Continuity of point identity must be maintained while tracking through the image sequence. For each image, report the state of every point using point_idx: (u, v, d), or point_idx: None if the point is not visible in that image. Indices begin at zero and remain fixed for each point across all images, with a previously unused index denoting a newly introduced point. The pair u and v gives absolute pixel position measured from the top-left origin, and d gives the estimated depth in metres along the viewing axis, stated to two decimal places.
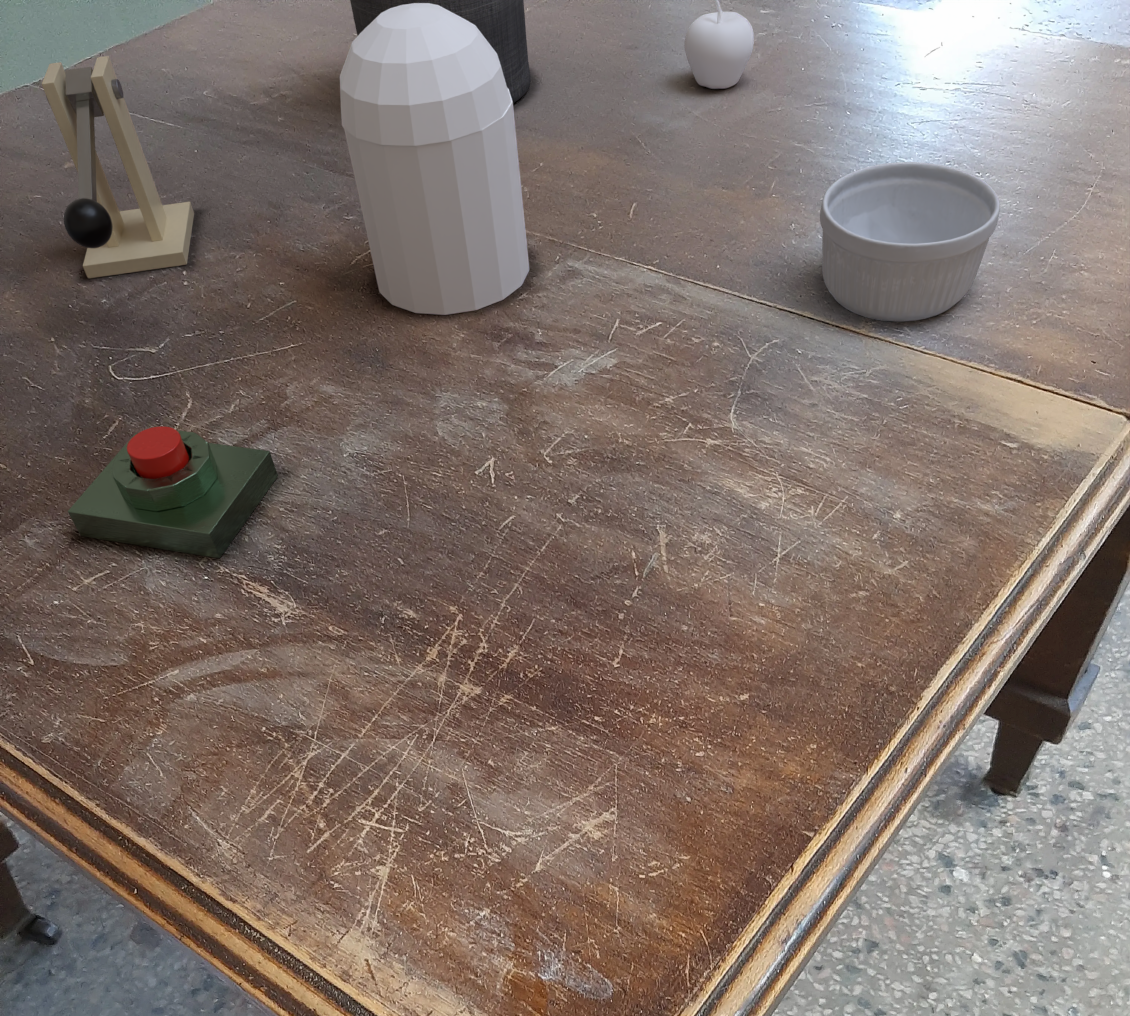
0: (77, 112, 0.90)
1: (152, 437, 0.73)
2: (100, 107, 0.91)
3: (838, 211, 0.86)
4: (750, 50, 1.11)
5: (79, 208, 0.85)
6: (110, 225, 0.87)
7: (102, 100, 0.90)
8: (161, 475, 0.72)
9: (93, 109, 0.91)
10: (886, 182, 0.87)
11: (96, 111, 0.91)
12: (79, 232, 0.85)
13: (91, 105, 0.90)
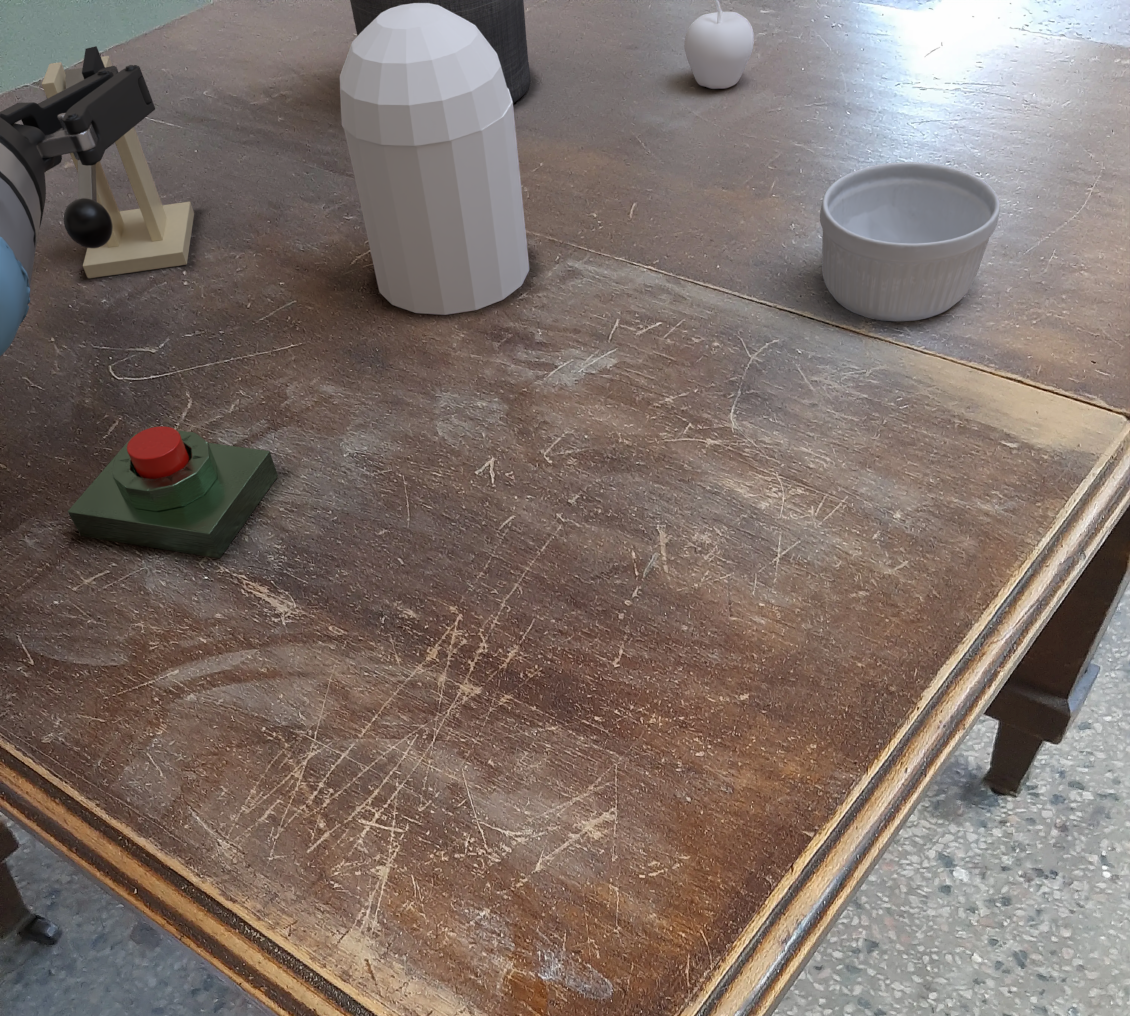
0: None
1: (152, 437, 0.73)
2: None
3: (838, 211, 0.86)
4: (750, 50, 1.11)
5: (79, 208, 0.85)
6: (110, 225, 0.87)
7: None
8: (161, 475, 0.72)
9: None
10: (886, 182, 0.87)
11: None
12: (79, 232, 0.85)
13: None
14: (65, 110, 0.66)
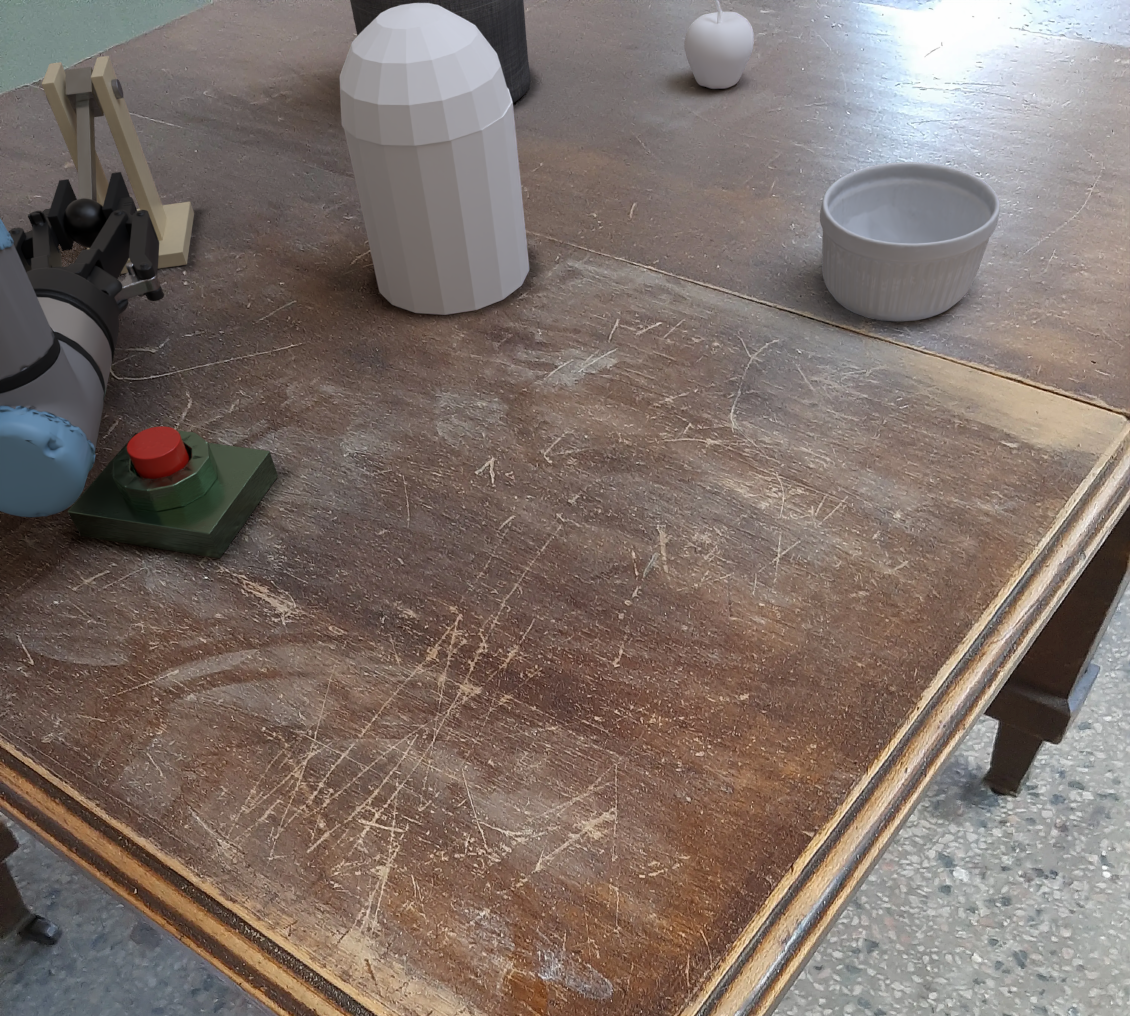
0: (77, 112, 0.90)
1: (152, 437, 0.73)
2: (100, 107, 0.91)
3: (838, 211, 0.86)
4: (750, 50, 1.11)
5: (79, 208, 0.85)
6: None
7: (102, 100, 0.90)
8: (161, 475, 0.72)
9: (93, 109, 0.91)
10: (886, 182, 0.87)
11: (96, 111, 0.91)
12: (79, 232, 0.85)
13: (91, 105, 0.90)
14: (112, 249, 0.82)
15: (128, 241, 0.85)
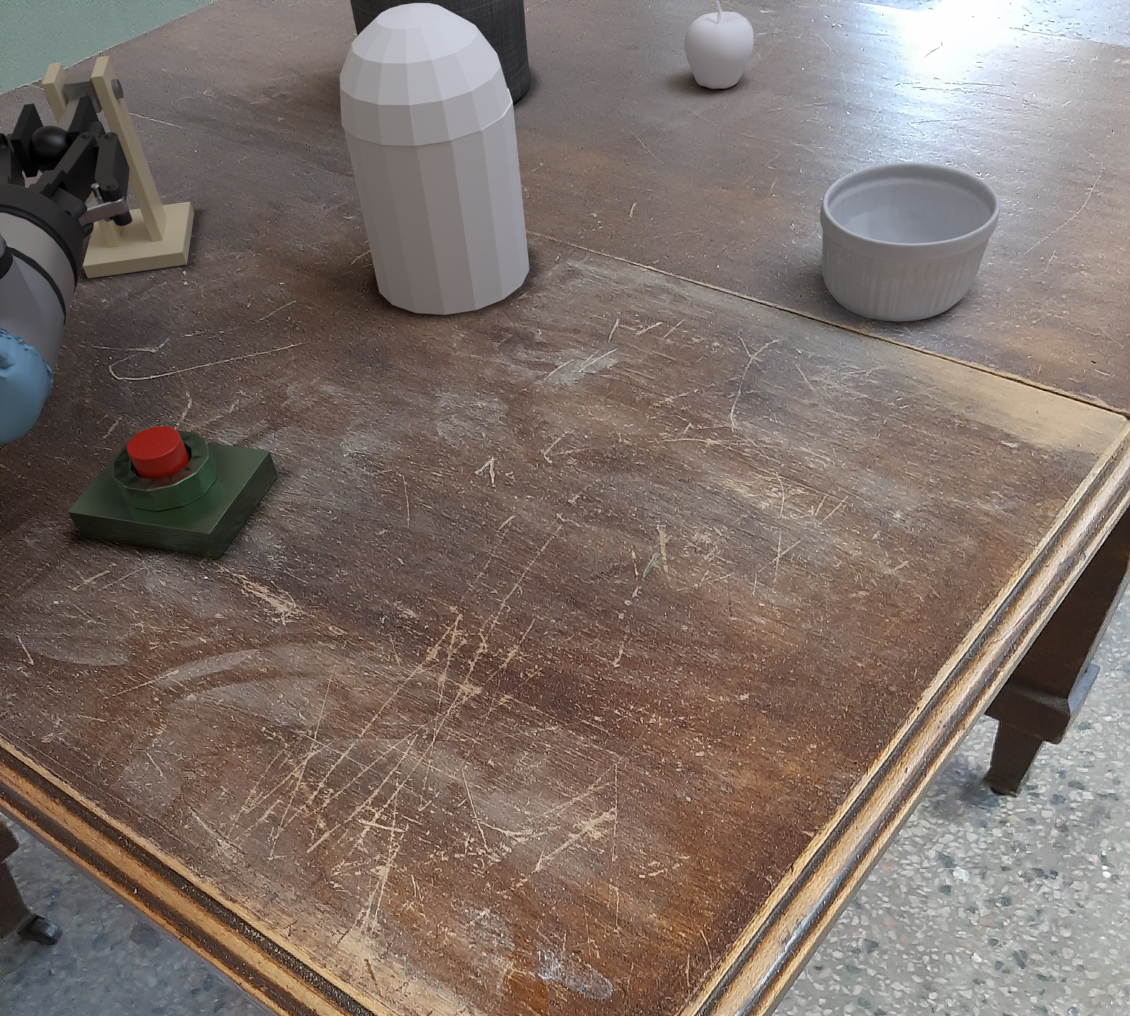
0: (71, 97, 0.89)
1: (152, 437, 0.73)
2: (97, 101, 0.90)
3: (838, 211, 0.86)
4: (750, 50, 1.11)
5: (45, 128, 0.80)
6: None
7: (102, 100, 0.90)
8: (161, 475, 0.72)
9: None
10: (886, 182, 0.87)
11: None
12: (41, 150, 0.80)
13: None
14: (77, 172, 0.77)
15: (96, 166, 0.80)
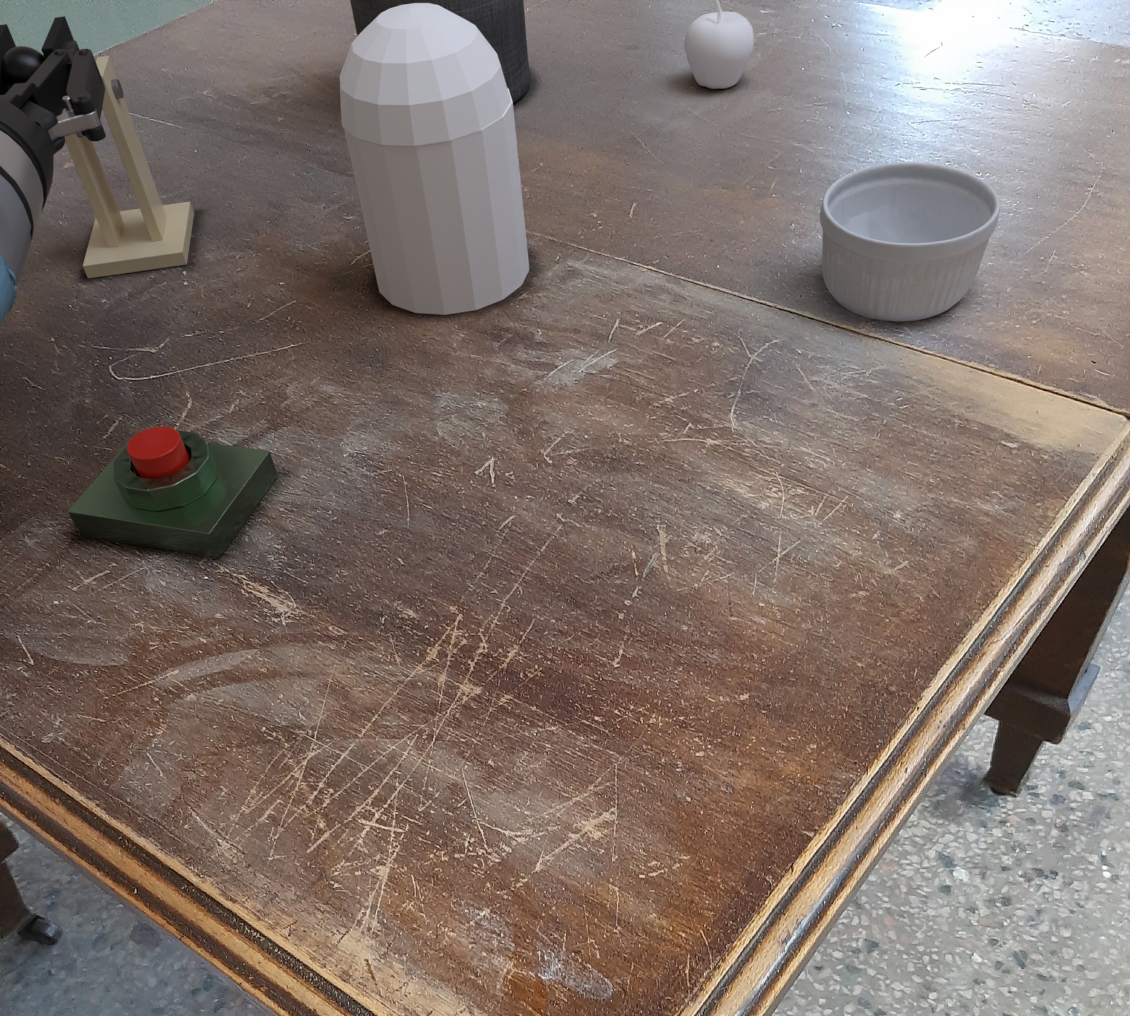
0: None
1: (152, 437, 0.73)
2: None
3: (838, 211, 0.86)
4: (750, 50, 1.11)
5: (19, 46, 0.77)
6: None
7: None
8: (161, 475, 0.72)
9: None
10: (886, 182, 0.87)
11: None
12: (11, 61, 0.77)
13: None
14: (49, 88, 0.74)
15: None
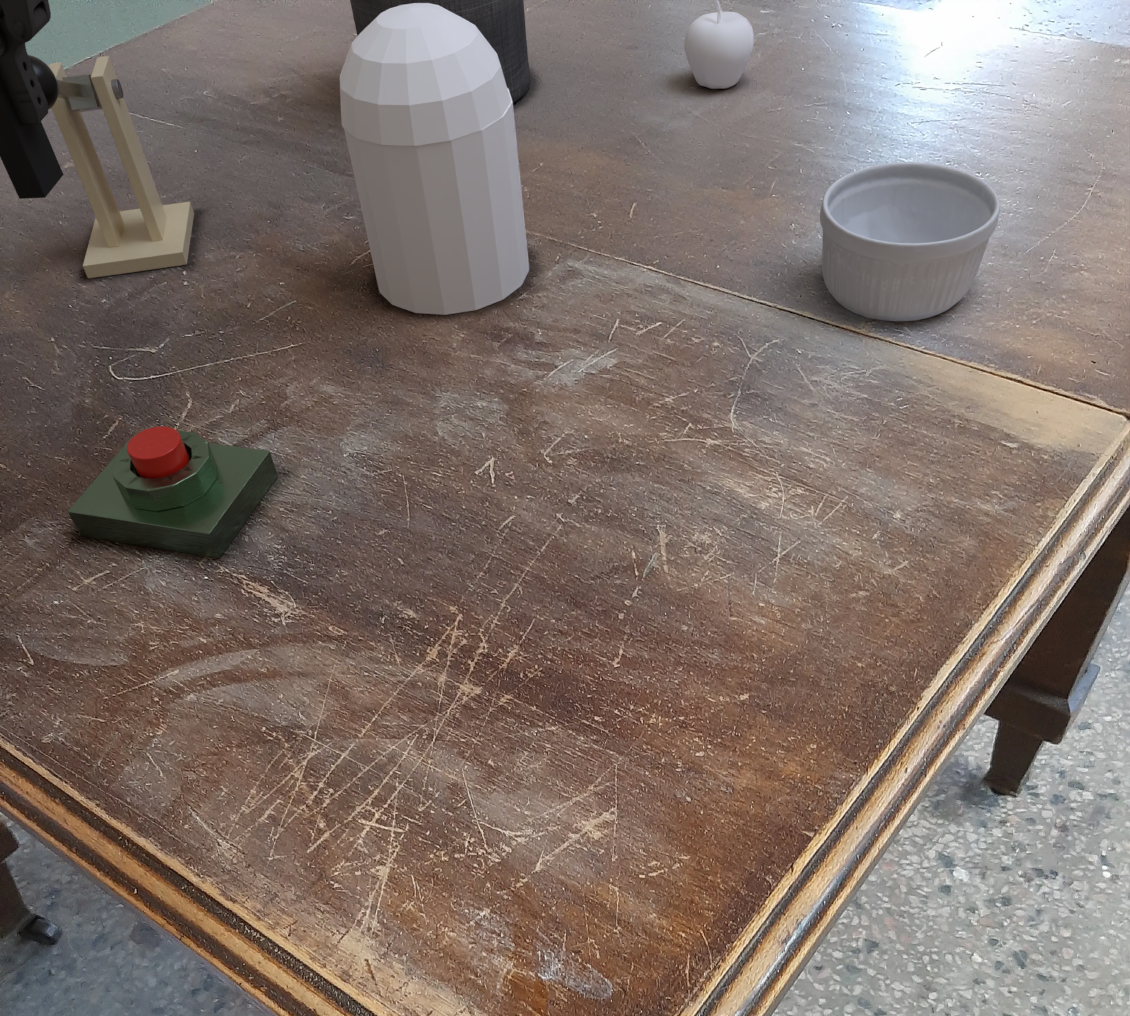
0: None
1: (152, 437, 0.73)
2: (95, 95, 0.90)
3: (838, 211, 0.86)
4: (750, 50, 1.11)
5: None
6: (53, 81, 0.78)
7: (102, 100, 0.90)
8: (161, 475, 0.72)
9: (87, 95, 0.90)
10: (886, 182, 0.87)
11: (90, 100, 0.90)
12: None
13: (85, 90, 0.90)
14: None
15: None
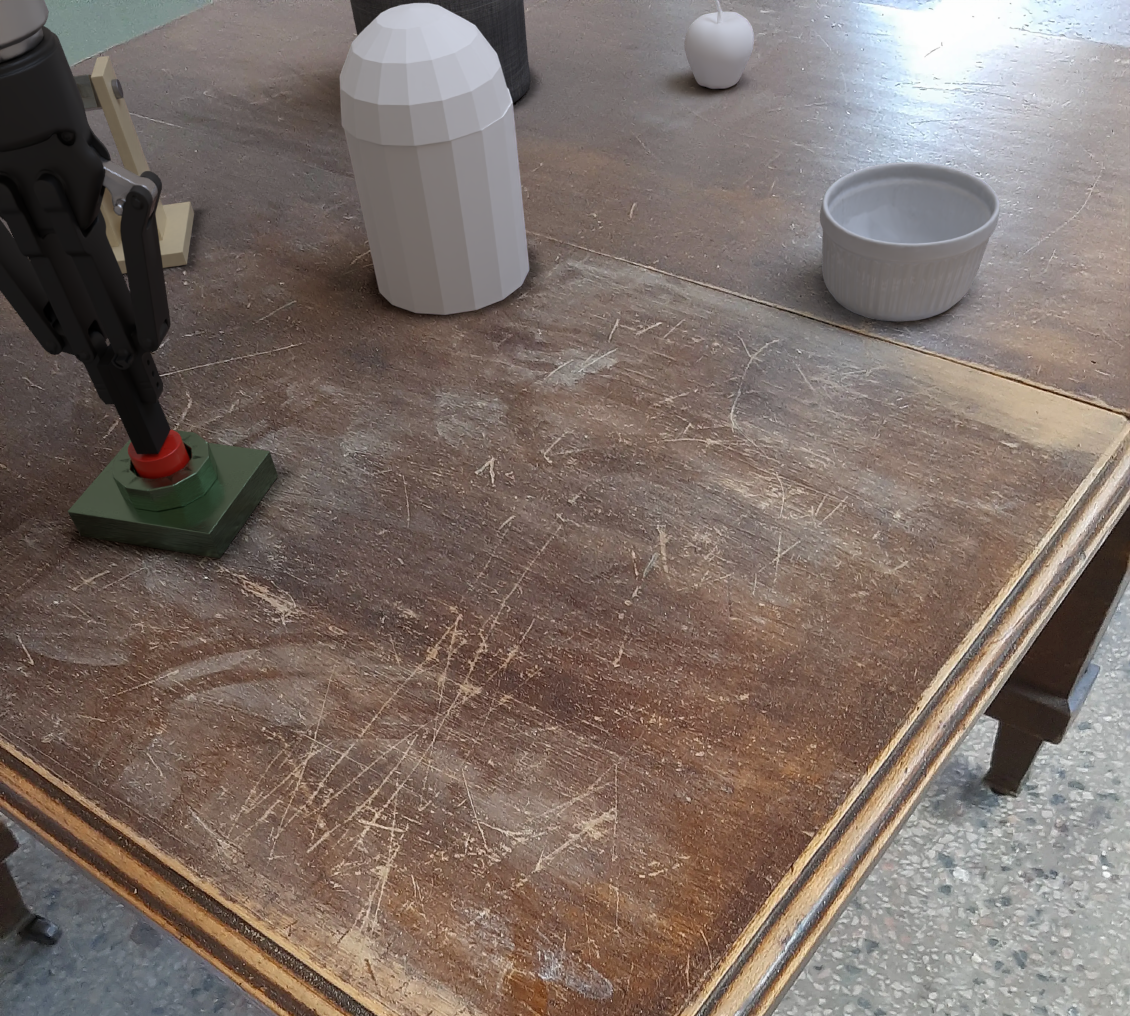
0: None
1: None
2: (95, 95, 0.90)
3: (838, 211, 0.86)
4: (750, 50, 1.11)
5: None
6: None
7: (102, 100, 0.90)
8: None
9: (87, 95, 0.90)
10: (886, 182, 0.87)
11: (90, 100, 0.90)
12: None
13: (85, 90, 0.90)
14: (113, 265, 0.63)
15: (128, 324, 0.65)
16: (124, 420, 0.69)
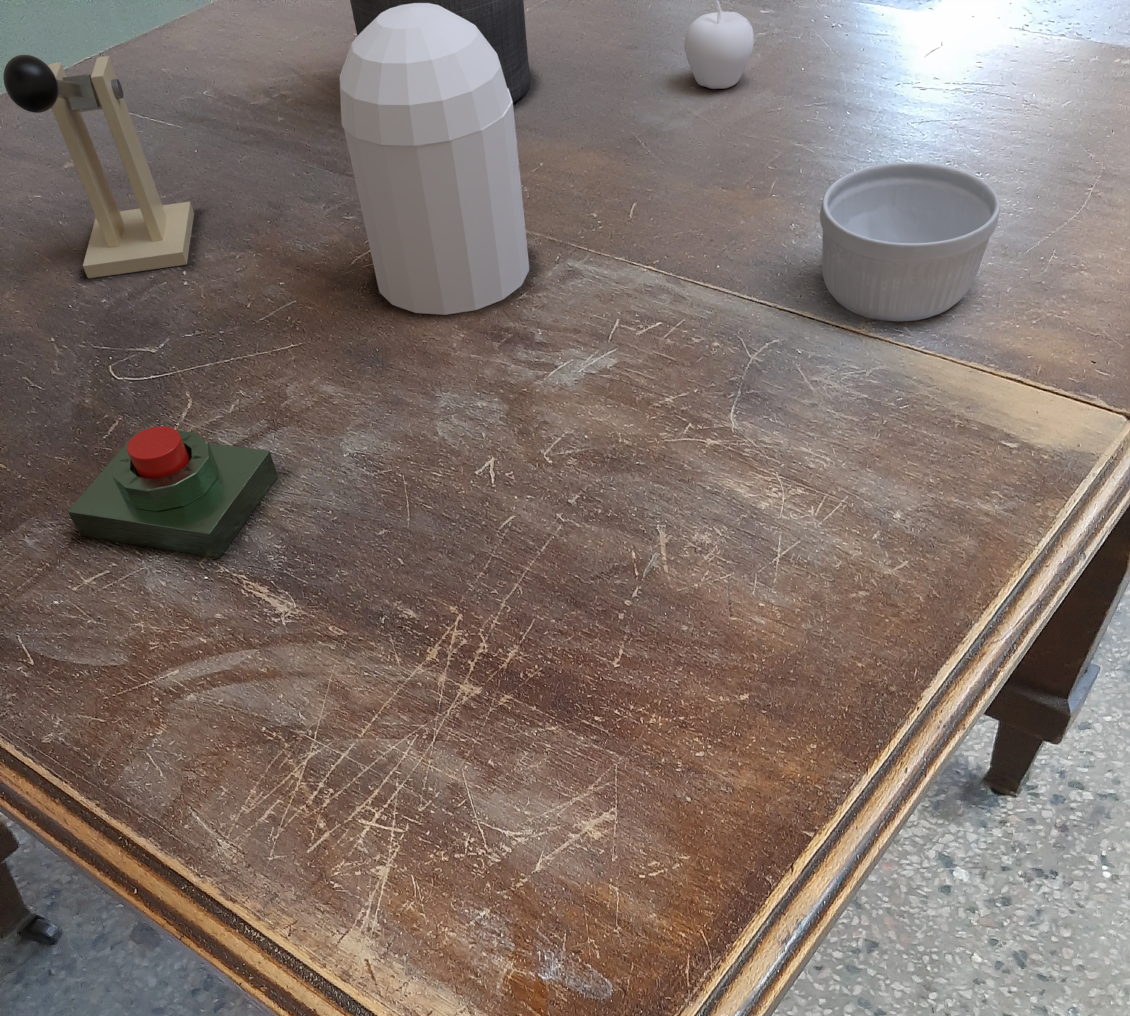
0: None
1: (152, 437, 0.73)
2: (95, 95, 0.90)
3: (838, 211, 0.86)
4: (750, 50, 1.11)
5: (21, 55, 0.78)
6: (53, 81, 0.78)
7: (102, 100, 0.90)
8: (161, 475, 0.72)
9: (87, 95, 0.90)
10: (886, 182, 0.87)
11: (90, 100, 0.90)
12: (14, 71, 0.77)
13: (85, 90, 0.90)
14: None
15: None
16: None
